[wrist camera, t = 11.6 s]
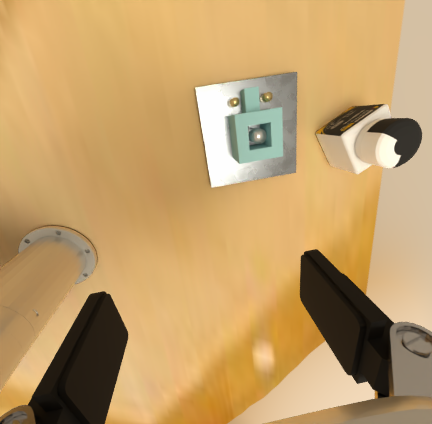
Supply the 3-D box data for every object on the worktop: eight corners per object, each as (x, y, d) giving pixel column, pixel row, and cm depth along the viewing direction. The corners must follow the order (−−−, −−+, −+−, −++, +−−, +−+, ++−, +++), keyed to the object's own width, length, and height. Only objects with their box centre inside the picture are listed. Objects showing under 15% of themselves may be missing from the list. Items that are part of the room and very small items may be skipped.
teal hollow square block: (270, 151, 35) (283, 156, 30) (232, 158, 35) (239, 164, 30) (268, 86, 31) (281, 80, 26) (225, 93, 31) (231, 88, 26)
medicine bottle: (351, 105, 35) (425, 99, 24) (364, 142, 38) (436, 151, 27) (314, 132, 36) (368, 138, 25) (329, 166, 39) (384, 184, 28)
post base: (292, 170, 38) (309, 179, 33) (210, 185, 37) (214, 196, 32) (292, 73, 32) (313, 64, 27) (194, 88, 31) (196, 82, 26)
